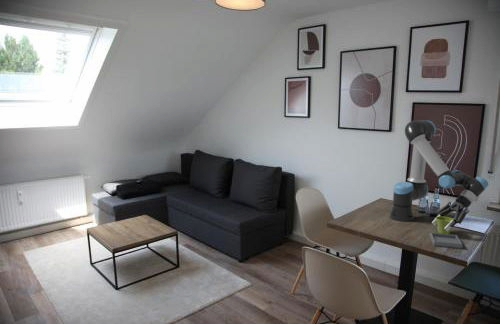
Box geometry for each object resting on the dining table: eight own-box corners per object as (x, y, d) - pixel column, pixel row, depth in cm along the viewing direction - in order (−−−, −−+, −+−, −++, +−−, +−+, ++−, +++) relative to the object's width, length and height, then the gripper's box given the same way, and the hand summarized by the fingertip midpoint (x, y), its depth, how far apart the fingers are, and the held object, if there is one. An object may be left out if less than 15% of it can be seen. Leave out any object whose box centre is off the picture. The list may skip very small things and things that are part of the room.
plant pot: (431, 230, 206) (432, 216, 204) (446, 229, 207) (447, 215, 205) (441, 236, 197) (442, 221, 195) (456, 235, 197) (458, 221, 196)
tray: (433, 245, 184) (434, 241, 183) (429, 236, 196) (430, 232, 196) (462, 248, 180) (462, 244, 179) (456, 239, 192) (456, 235, 191)
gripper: (485, 208, 191) (457, 238, 191) (454, 198, 212) (429, 224, 212) (477, 200, 189) (450, 229, 189) (448, 190, 210) (423, 216, 210)
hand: (439, 226), depth 200 cm, fingers closed on plant pot, 9 cm apart
